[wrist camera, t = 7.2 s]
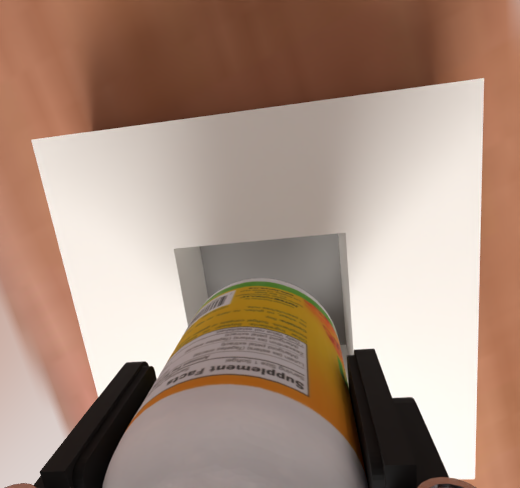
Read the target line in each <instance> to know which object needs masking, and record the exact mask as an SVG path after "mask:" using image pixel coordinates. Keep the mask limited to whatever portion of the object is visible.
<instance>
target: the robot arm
mask: <svg viewBox="0 0 520 488" xmlns="http://www.w3.org/2000/svg"><path fill="white" fill-rule="evenodd" d="M347 369H348V382H349V392H350V397H351V402H352V407H353V412H354V417H355V422H356V427H357V432H358V437H359V442H360V447H361V452H362V457H363V462H364V467H365V472H366V477H367V483H368V488H476V487H474V486H473V485H471V484H469V483H467V482H464V481H461V480H458V479H455V478H449V476H448V473H447V471H446V469H445V467H444V464H443V462H442V460H441V458H440V455H439V453H438V451H437V449H436V446H435V444H434V442H433V440H432V437H431V435H430V433H429V431H428V428H427V426H426V424H425V422H424V419H423V417H422V415H421V413H420V410H419V408H418V406H417V404H416V402H415V400H414V398H412V397H401V398H392V396H391V393H390V390H389V388H388V385H387V382H386V379H385V376H384V374H383V371H382V368H381V365H380V363H379V360H378V357H377V354H376V351H375V349H357V350H354V355H347ZM156 380H157V378H156V374H155V370H154V367H153V366H149V365H148V363H147V362H146V361H141V362H127V363H125V364H124V365H123V367H122V368H121V369H120V370H119V372H118V373H117V374H116V375H115V377H114V378H113V379H112V381H111V382H110V383H109V384H108V386H107V387H106V388H105V389H104V391H103V392H102V393H101V395H100V396H99V397H98V398H97V400H96V401H95V402H94V403H93V405H92V406H91V407H90V409H89V410H88V411H87V412H86V414H85V415H84V416H83V417H82V419H81V420H80V421H79V423H78V424H77V425H76V426H75V428H74V429H73V430H72V431H71V433H70V434H69V435H68V437H67V438H66V439H65V440H64V442H63V443H62V444H61V446H60V447H59V448H58V449H57V451H56V452H55V453H54V454H53V456H52V457H51V458H50V459H49V461H48V462H47V463H46V464H45V466H44V467H43V468H42V470H41V471H40V474H41V476H40V478H39V479H38V480H37V482H36V483H35V484H34V485H31V484H25V483H21V484H14V485H11V486H8V487H5V488H102V487H103V482H104V478H105V475H106V471H107V469H108V466H109V463H110V461H111V459H112V456H113V454H114V452H115V450H116V448H117V446H118V444H119V442H120V440H121V438H122V436H123V435H124V433H125V431H126V429H127V428H128V426H129V424H130V423H131V421H132V419H133V418H134V416H135V414H136V413H137V411H138V410H139V408H140V406H141V405H142V403H143V401H144V400H145V398H146V396H147V395H148V393H149V391H150V390H151V388H152V386H153V385H154V383H155V381H156Z"/></svg>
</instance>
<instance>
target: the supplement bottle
mask: <svg viewBox="0 0 520 488" xmlns="http://www.w3.org/2000/svg"><path fill="white" fill-rule="evenodd" d="M102 488H368V483H367V477H366V472H365V467H364V462H363V457H362V452H361V447H360V442H359V437H358V432H357V427H356V422H355V417H354V412H353V407H352V402H351V397H350V392H349V386H348V381H347V377H346V372H345V367H344V362H343V357H342V352H341V348H340V342H339V339H338V335H337V332H336V329H335V326H334V324H333V322H332V320H331V318H330V316H329V315H328V313H327V312H326V310H325V309H324V308H323V306H322V305H321V304H320V303H319V302H318V301H317V300H316V299H315V298H314V297H312V296H311V295H310V294H308V293H307V292H305V291H304V290H302V289H300V288H299V287H297V286H294V285H292V284H289V283H286V282H283V281H279V280H275V279H267V278H253V279H247V280H242V281H238V282H235V283H233V284H230V285H228V286H226V287H224V288H222V289H221V290H219V291H217V292H216V293H215V294H213V295H212V296H211V297H210V298H209V299H208V300H207V301H206V302H205V303H204V304H203V305H202V307H201V308H200V309H199V310H198V312H197V313H196V315H195V316H194V318H193V319H192V321H191V323H190V324H189V326H188V328H187V329H186V331H185V332H184V334H183V336H182V338H181V339H180V341H179V343H178V344H177V346H176V348H175V350H174V351H173V353H172V355H171V356H170V358H169V360H168V361H167V363H166V365H165V366H164V368H163V370H162V371H161V373H160V375H159V377H158V378H157V380H156V381H155V383H154V385H153V386H152V388H151V390H150V391H149V393H148V395H147V396H146V398H145V400H144V401H143V403H142V405H141V406H140V408H139V410H138V411H137V413H136V414H135V416H134V418H133V419H132V421H131V423H130V424H129V426H128V428H127V429H126V431H125V433H124V435H123V436H122V438H121V440H120V442H119V444H118V446H117V448H116V450H115V452H114V454H113V456H112V459H111V461H110V463H109V466H108V469H107V471H106V475H105V478H104V482H103V487H102Z"/></svg>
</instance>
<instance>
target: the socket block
mask: <svg viewBox="0 0 520 488" xmlns="http://www.w3.org/2000/svg"><path fill="white" fill-rule="evenodd" d="M483 101H484V78H481V79H474V80H466V81H459V82H452V83H444V84H437V85H430V86H422V87H415V88H408V89H400V90H393V91H386V92H378V93H371V94H364V95H356V96H349V97H342V98H334V99H327V100H320V101H312V102H305V103H298V104H290V105H283V106H276V107H268V108H261V109H254V110H246V111H239V112H232V113H224V114H217V115H210V116H202V117H195V118H188V119H180V120H173V121H166V122H158V123H151V124H144V125H136V126H129V127H122V128H114V129H107V130H100V131H92V132H85V133H78V134H70V135H63V136H56V137H48V138H41V139H34V140H31V141H32V144H33V148H34V152H35V156H36V160H37V164H38V167H39V171H40V175H41V179H42V183H43V187H44V190H45V194H46V198H47V202H48V206H49V210H50V213H51V217H52V221H53V225H54V229H55V233H56V237H57V240H58V244H59V248H60V252H61V256H62V260H63V263H64V267H65V271H66V275H67V279H68V283H69V286H70V290H71V294H72V298H73V302H74V306H75V309H76V313H77V317H78V321H79V325H80V329H81V333H82V336H83V340H84V344H85V348H86V352H87V356H88V359H89V363H90V367H91V371H92V375H93V379H94V382H95V386H96V390H97V394H98V397H99V396H100V395H101V393H102V392H103V391H104V389H105V388H106V387H107V386H108V384H109V383H110V382H111V381H112V379H113V378H114V377H115V375H116V374H117V373H118V372H119V370H120V369H121V368H122V367H123V365H124V364H125V363H127V362H141V361H146V362H147V363H148V365H149V366H153V367H154V370H155V374H156V378H158V377H159V375H160V373H161V371H162V370H163V368H164V366H165V365H166V363H167V361H168V360H169V358H170V356H171V355H172V353H173V351H174V350H175V348H176V346H177V344H178V343H179V341H180V339H181V338H182V336H183V334H184V332H185V331H186V329H187V328H188V326H189V324H190V323H191V321H192V319H193V318H194V316H195V315H196V313H197V312H198V310H199V309H200V308H201V307H202V305H203V304H204V303H205V302H206V301H207V300H208V299H209V298H210V297H211V296H212V295H213V294H215V293H216V292H217V291H219V290H221V289H222V288H224V287H226V286H228V285H230V284H233V283H235V282H238V281H242V280H247V279H253V278H267V279H275V280H279V281H283V282H286V283H289V284H292V285H294V286H297V287H299V288H300V289H302V290H304V291H305V292H307V293H308V294H310V295H311V296H312V297H314V298H315V299H316V300H317V301H318V302H319V303H320V304H321V305H322V306H323V308H324V309H325V310H326V312H327V313H328V315H329V316H330V318H331V320H332V322H333V324H334V326H335V329H336V332H337V335H338V339H339V342H340V348H341V352H342V357H343V362H344V367H345V372H346V377H347V381H348V369H347V355H354V350H357V349H375V351H376V354H377V357H378V360H379V363H380V365H381V368H382V371H383V374H384V376H385V379H386V382H387V385H388V388H389V390H390V393H391V396H392V398H401V397H412V398H414V400H415V402H416V404H417V406H418V408H419V410H420V413H421V415H422V417H423V419H424V422H425V424H426V426H427V428H428V431H429V433H430V435H431V437H432V440H433V442H434V444H435V446H436V449H437V451H438V453H439V455H440V458H441V460H442V462H443V464H444V467H445V469H446V471H447V473H448V476H449V478H455V479H475V450H476V406H477V363H478V319H479V275H480V232H481V188H482V144H483ZM348 386H349V382H348Z"/></svg>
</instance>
